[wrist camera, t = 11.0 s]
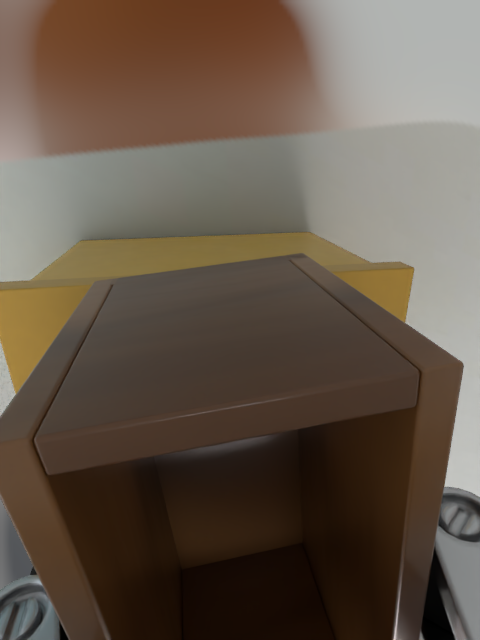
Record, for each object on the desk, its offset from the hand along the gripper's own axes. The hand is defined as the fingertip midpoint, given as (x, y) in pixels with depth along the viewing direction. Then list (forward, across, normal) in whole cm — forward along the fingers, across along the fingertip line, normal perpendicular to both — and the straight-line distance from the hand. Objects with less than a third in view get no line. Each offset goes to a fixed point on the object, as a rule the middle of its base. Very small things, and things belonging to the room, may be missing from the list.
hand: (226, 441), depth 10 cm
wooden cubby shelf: (0, 0, 0) cm, 0 cm away
